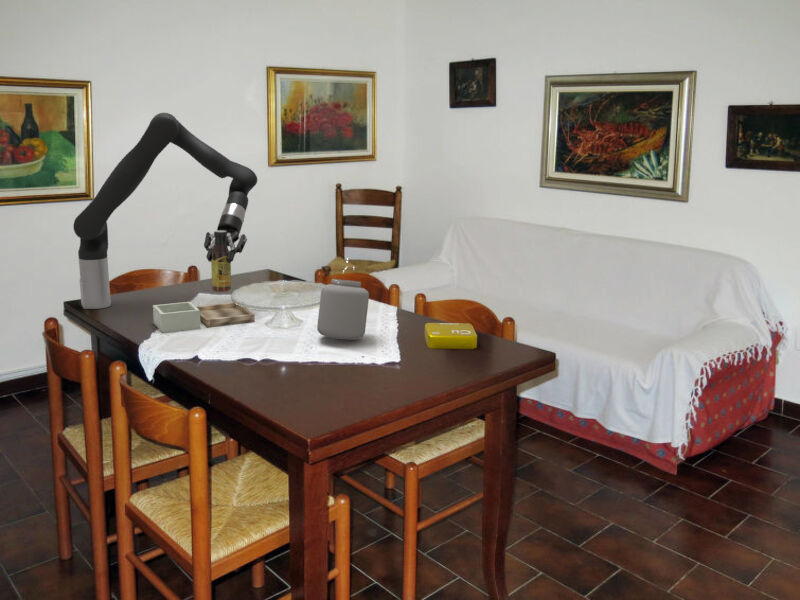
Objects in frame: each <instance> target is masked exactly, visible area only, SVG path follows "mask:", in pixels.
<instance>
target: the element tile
mask: <svg viewBox="0 0 800 600" xmlns="http://www.w3.org/2000/svg"><path fill="white" fill-rule="evenodd" d="M424 339H425V342H426V347H427V348H429V349H433V350H439V349H440V350H474V349H477V348H478V334H477V333H476V330H475V328H474V327H473V325H472V324H471V323H468V322H467V323H466V322H465V323H462V322H461V323H458V322H453V323H452V322H426V324H424Z"/></svg>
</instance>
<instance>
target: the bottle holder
mask: <svg viewBox="0 0 800 600" xmlns="http://www.w3.org/2000/svg"><path fill="white" fill-rule="evenodd" d="M152 311H153V312H152V317H153V324H154V326H155V327H157V328H158V330H159V331H160V333H162V334H164V333H171V332H172V333H173V332H181V331H190V330H197V329H201V326H202V325H201V322H200V310H199V309H198V308H197V306H196V305H194V304H193V303H192V302H191V301H183V302H172V303H165V304H162V303H161V304H153V305H152Z"/></svg>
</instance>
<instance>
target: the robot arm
mask: <svg viewBox="0 0 800 600" xmlns="http://www.w3.org/2000/svg"><path fill="white" fill-rule="evenodd" d="M170 143H171V144H173V145H175V146H177V147H178V148H180V149H182V150H183V151H185V153H187V154H188V155H190V156H191V157H192V158H193V159H194V160H196V161H197V163H199V164H200V165H201V166H203V168H205V169H206V170H208V171H209V172H210V173H212V174H214V175H215V176H216V177H218V178H220V179H225V178H228V177H229V178H231V182H230V184H229V189H228V197H227V199H226V203H225V206H224V208H223V210H222V211H221V215H220V219H219V222H218V224H217V229H216V231H219V230H222V231H227V236H226V242H227V247H229V248H230V250H229V254H228V257H227V261H228V263H231V264H232V262H233V261H234V258H235V256H236V254H238V253H239V254H241V253H242V252H243V250H244V249H245V246H246V243H247V241H248V238H247V236H246V235H245V234H244V233H243V234H241V230H242V227H243V223H244V222H245V216H246V212H247V209H248V205H249V197H248V194H249V193H250V192H251V191H252V189H253V188H254V187H255V186H256V185H257V184H258V176H257V174H256V173H255V172H254V170H252V169H251V168H250V167H248V166H246V165H243V164H240V163H238V162H235V161H233V160H230V159H229V158H228V157H226V156H225V155H223V154H222V153H221V152H219V151H217V150H216V149H215V148H213V147H212V146H210V145H209V144H208V143H205V141H203V140H201V139H199V138H198V137H197V136H196V135H194V134H193V133H192V132H191V131H189V130H188V129H187V128H186V127H185V126H184V125H183V124H182V123H181V122H180V121H179V120H178V119H177V118H176V117H175V115H173V114H170V113H168V112H159V113H158V114H156V115H154V116H153V118H152V119H151V120H150V122H149V124H148V126H147V127H146V130H145V131H144V133H143V135H142V136H141V138H140V139H139V141H138V142H137V143H136V144H135V145H134V147H133V148H132V149H131V150H130V151H128V153H127V154H126V155H124V156H123V158H122V159H120V161H119V162H118V163H117V165H116V166H115V167H114V169H113V170H112V171H111V173H109V175H108V176H107V178H106V180H105V182H104V183H103V184H102V186H101V187H100V189H99V190H98V192H97V193H96V196H95V197H94V198H93V199H92V201H90V202H89V204H88V205H87V206H86V207H85V208H84V209H83V210H82V211H81V212H80V213H79V214H78V216H76V217H75V219H74V222H73V230H74V231H73V232H74V233H75V235H76V236H77V237H78V238H79V240H80V242H79V249H78V252H77V254H78V267H79V287H80V289H79V290H80V291H79V293H80V302H81V307H82V309H84V310H99V309H105V308H108V307H110V306H111V305H112V303H111V291H110V290H111V287H110V277H109V276H110V275H109V274H110V273H109V272H110V271H109V261H108V259H109V258H108V249H109V232H108V231H109V229H108V222H107V221H108V220H109V218H110V217H111V215H112V214H113V213H114V211H116V210H117V209H118V208H119V207H120V206H121V205H122V204H123V203H124V202H125V201H126V200H127V199H128V198H130V196H131V195H132V194H133V193H134V192H135V191H136V189H137V188H138V187H139V186H140V184H141V183H142V182H143V181H144V178H145V177H146V175H148V173H149V172H150V171H149V170H151V168H152V166H153V164H154V162H155V161H156V159H157V157H158V156H159V155H160V154H161V153H162V151H164V149H166V147H167V146H168V145H169V144H170ZM237 241H238V243H237V245H236V244H235V243H236V242H237ZM214 246H215V235H214V233H210V232H209V231H208V232H206V234H205V238H204V244H203V247H204V249H205V251H207V254H206V259H207V261H208V262H210V263H211V259H212V254H211V253H212V250H213V248H214Z"/></svg>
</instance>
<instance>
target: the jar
mask: <svg viewBox="0 0 800 600" xmlns="http://www.w3.org/2000/svg"><path fill="white" fill-rule="evenodd" d="M346 263H349V258H346ZM352 268H353V271H354V270H355V266H353V267H352ZM345 270H347V267H345V268H344V270H342V272H343V273H344V272H345ZM361 286H362V282H361V281H356V280H355V281H354V280H348V279H347V280H346V279H339V278H338V279H335V278H332V279H331V283H329V284H326V285H323V287H322V288H321V291H320V297H319V307H318V317H317V326H316V328H317V332H318V333H319V334H320V335H322V336H323V337H328V338H332V339H340V340H360V339H361V338H363V337H364V336H365V333H366V326H367V319H368V310H369V309H368V308H369V300H370V293H369V291H368V290H367V289H365V288H364V287H361Z"/></svg>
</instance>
